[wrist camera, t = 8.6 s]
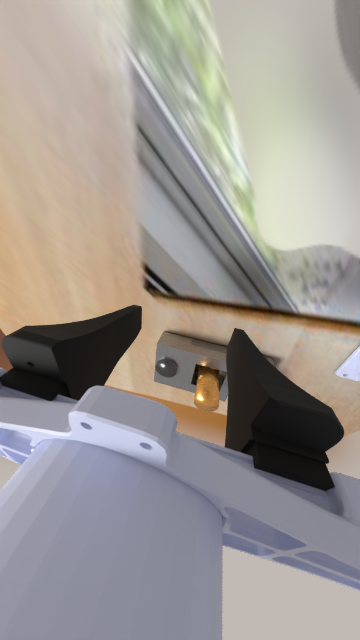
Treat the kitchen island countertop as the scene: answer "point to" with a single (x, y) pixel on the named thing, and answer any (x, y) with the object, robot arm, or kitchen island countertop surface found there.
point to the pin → (207, 389)
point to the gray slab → (189, 362)
